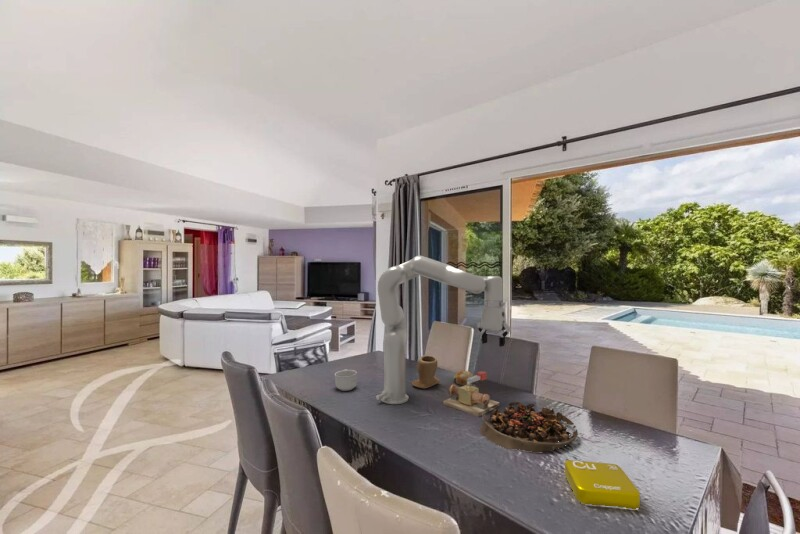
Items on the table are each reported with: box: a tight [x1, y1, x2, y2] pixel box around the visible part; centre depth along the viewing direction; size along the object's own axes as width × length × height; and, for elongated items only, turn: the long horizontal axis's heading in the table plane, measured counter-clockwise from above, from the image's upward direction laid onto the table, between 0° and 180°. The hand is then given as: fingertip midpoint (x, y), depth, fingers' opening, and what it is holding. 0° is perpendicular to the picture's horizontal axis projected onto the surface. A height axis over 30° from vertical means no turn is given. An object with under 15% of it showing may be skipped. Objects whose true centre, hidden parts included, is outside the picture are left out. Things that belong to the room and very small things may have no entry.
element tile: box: [564, 459, 641, 509], centre depth 101 cm, size 15×15×5 cm
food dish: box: [479, 401, 579, 453], centre depth 136 cm, size 35×33×8 cm
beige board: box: [442, 397, 500, 417], centre depth 161 cm, size 16×18×2 cm
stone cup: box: [411, 354, 441, 389], centre depth 186 cm, size 15×12×15 cm
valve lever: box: [467, 370, 487, 386], centre depth 163 cm, size 13×3×4 cm, turn 135°
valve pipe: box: [448, 383, 491, 409], centre depth 159 cm, size 6×18×7 cm, turn 45°
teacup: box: [334, 368, 358, 392], centre depth 183 cm, size 14×11×8 cm
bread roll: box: [453, 370, 475, 386], centre depth 191 cm, size 10×10×8 cm
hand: (493, 344), depth 162 cm, fingers open, 7 cm apart
